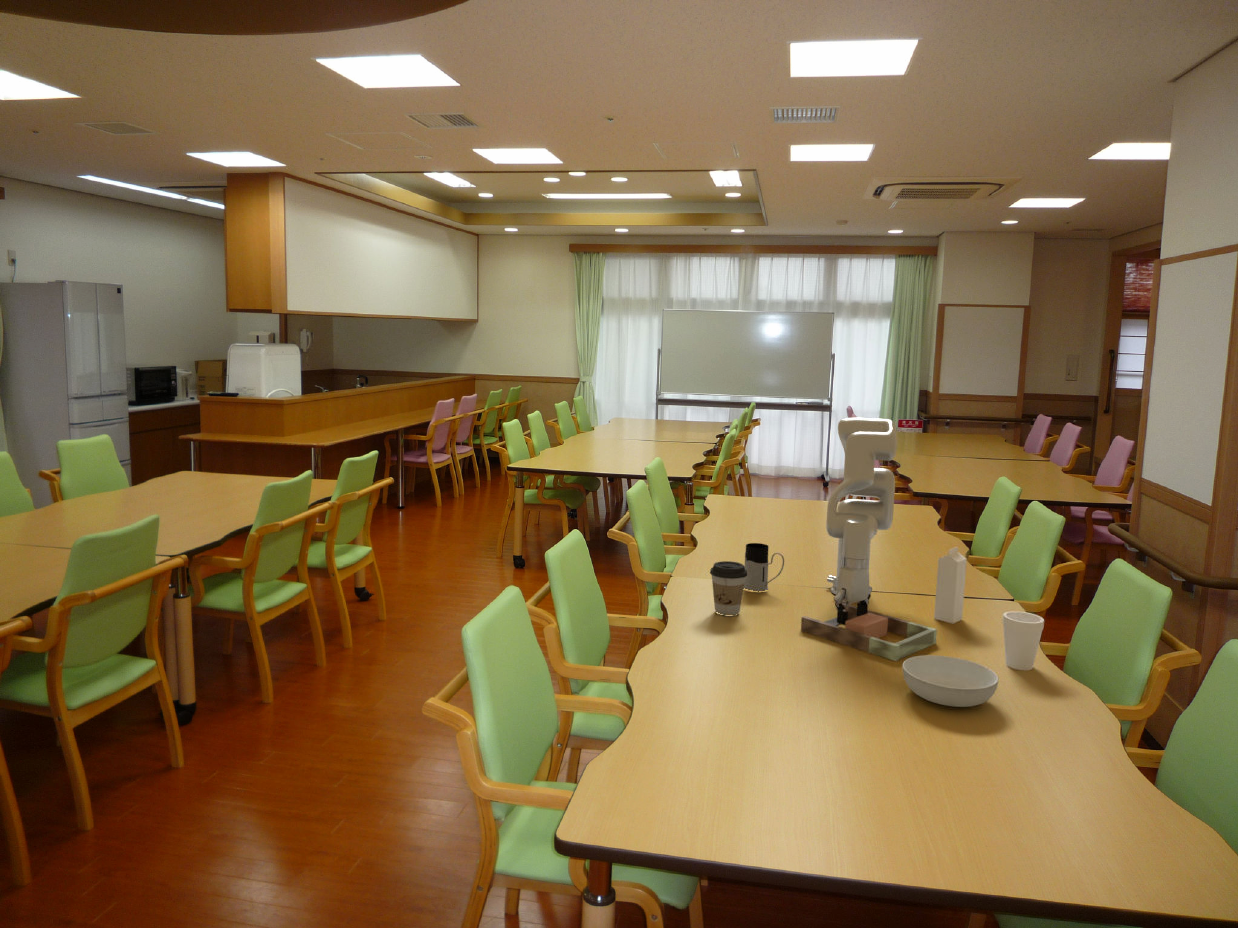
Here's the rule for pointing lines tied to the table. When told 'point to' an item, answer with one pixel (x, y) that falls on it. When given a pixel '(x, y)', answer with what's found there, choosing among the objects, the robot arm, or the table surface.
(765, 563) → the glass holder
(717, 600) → the coffee cup
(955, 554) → the milk
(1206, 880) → the table surface
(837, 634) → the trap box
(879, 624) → the terracotta block
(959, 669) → the serving bowl
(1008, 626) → the foam cup
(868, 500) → the robot arm
